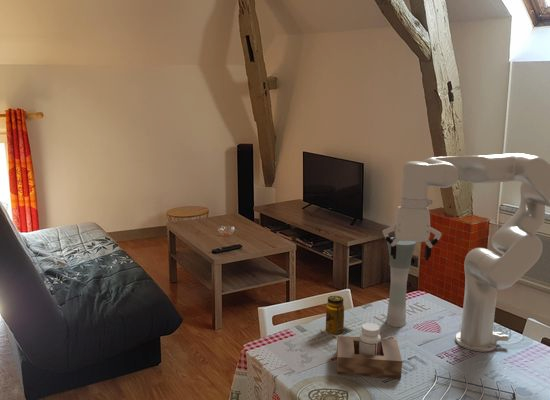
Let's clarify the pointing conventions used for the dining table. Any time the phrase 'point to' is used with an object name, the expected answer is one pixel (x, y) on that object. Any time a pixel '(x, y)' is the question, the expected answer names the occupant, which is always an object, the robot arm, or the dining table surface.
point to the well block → (368, 359)
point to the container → (399, 282)
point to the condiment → (335, 317)
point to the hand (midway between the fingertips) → (410, 258)
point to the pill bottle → (370, 340)
